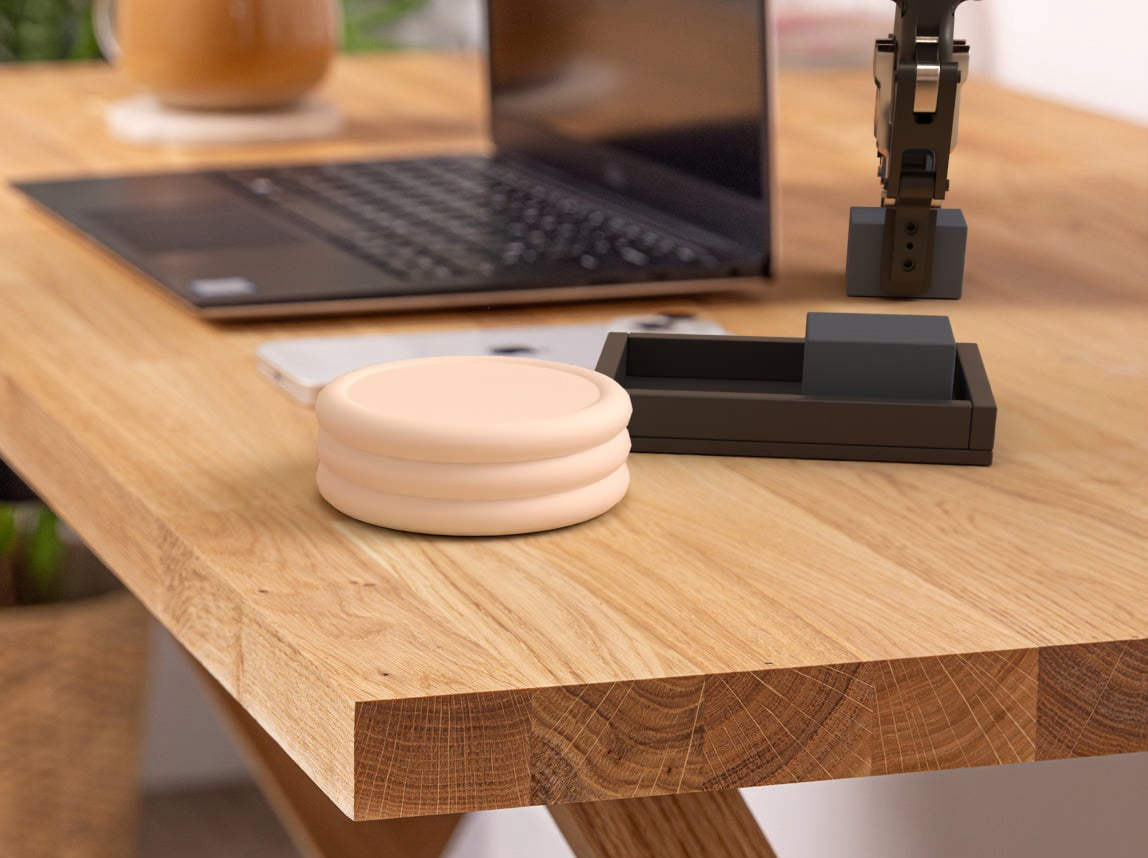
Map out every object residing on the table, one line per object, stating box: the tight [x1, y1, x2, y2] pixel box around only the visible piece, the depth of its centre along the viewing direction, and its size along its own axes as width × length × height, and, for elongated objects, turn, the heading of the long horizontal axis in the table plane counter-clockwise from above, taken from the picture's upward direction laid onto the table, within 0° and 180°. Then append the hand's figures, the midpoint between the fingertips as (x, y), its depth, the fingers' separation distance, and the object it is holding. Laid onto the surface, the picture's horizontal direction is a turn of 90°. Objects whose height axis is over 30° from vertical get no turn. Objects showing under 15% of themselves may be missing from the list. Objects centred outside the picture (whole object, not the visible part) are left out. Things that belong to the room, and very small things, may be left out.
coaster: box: [313, 354, 633, 537], centre depth 72 cm, size 10×10×4 cm
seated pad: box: [802, 311, 957, 400], centre depth 79 cm, size 5×5×3 cm
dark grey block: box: [844, 205, 969, 300], centre depth 102 cm, size 5×5×3 cm
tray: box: [594, 331, 998, 466], centre depth 80 cm, size 14×10×2 cm
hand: (902, 279), depth 102 cm, fingers closed on dark grey block, 4 cm apart
